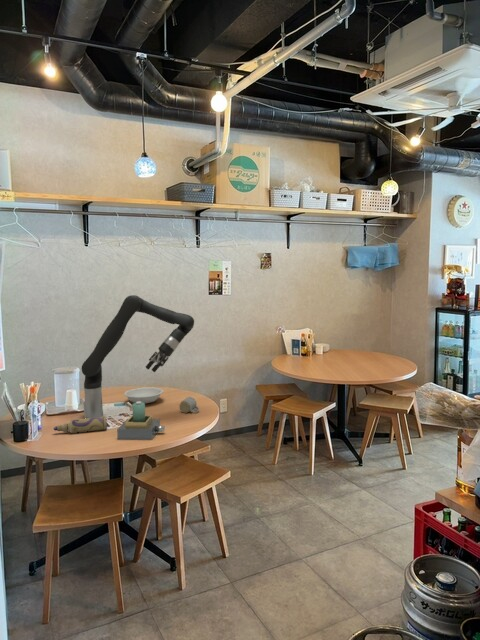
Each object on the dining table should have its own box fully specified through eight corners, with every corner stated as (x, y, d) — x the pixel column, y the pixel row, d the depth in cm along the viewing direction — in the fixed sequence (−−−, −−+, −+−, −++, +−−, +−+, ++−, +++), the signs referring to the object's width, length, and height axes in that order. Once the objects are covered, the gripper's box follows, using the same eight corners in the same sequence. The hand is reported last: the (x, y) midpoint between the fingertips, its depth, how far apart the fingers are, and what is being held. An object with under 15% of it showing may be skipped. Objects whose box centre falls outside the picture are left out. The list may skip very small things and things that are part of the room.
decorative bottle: (107, 426, 245) (106, 414, 244) (107, 431, 237) (106, 418, 237) (54, 431, 238) (54, 419, 237) (52, 437, 231) (52, 424, 230)
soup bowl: (171, 400, 292) (171, 389, 292) (144, 410, 272) (144, 399, 272) (143, 395, 305) (143, 385, 305) (115, 404, 285) (115, 394, 284)
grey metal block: (117, 439, 225) (116, 424, 224) (127, 428, 241) (127, 414, 240) (160, 439, 224) (159, 424, 223) (167, 428, 239) (167, 414, 239)
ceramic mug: (178, 412, 265) (178, 399, 264) (185, 408, 273) (184, 396, 272) (195, 414, 262) (195, 401, 261) (201, 410, 269) (201, 397, 269)
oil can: (143, 421, 236) (142, 398, 235) (147, 424, 231) (146, 400, 230) (126, 424, 231) (125, 400, 230) (130, 427, 226) (129, 403, 225)
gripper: (158, 340, 256) (139, 363, 251) (169, 343, 244) (150, 367, 239) (168, 348, 259) (149, 371, 254) (179, 352, 247) (160, 376, 242)
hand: (149, 369), depth 246 cm, fingers open, 8 cm apart
